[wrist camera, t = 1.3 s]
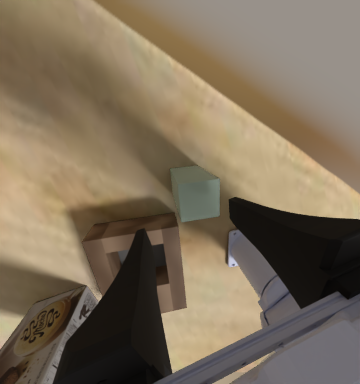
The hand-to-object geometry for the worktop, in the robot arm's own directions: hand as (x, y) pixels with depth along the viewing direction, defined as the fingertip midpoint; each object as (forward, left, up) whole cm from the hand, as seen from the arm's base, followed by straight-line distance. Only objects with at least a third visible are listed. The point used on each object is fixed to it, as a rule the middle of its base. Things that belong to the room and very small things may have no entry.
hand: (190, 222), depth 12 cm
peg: (-2, -1, -11) cm, 11 cm away
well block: (+6, +12, -10) cm, 17 cm away
